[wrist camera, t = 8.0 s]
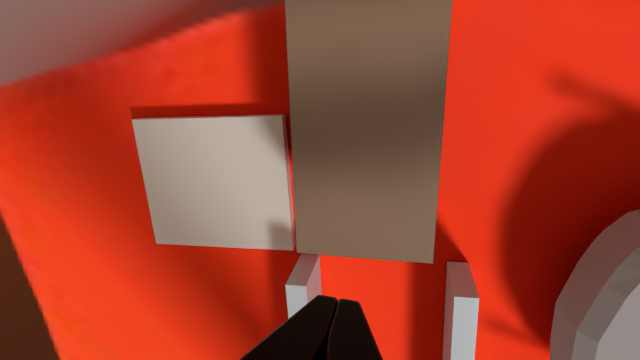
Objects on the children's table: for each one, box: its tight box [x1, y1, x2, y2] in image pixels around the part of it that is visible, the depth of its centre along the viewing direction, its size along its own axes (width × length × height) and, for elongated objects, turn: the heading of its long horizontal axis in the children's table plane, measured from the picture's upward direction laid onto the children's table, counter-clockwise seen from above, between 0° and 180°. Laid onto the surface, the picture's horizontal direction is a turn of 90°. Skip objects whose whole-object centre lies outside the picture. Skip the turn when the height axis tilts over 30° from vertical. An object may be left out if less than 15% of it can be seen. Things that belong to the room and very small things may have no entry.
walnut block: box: [285, 0, 452, 264], centre depth 16 cm, size 9×5×6 cm, turn 1°
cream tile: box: [132, 114, 296, 251], centre depth 20 cm, size 7×8×1 cm
